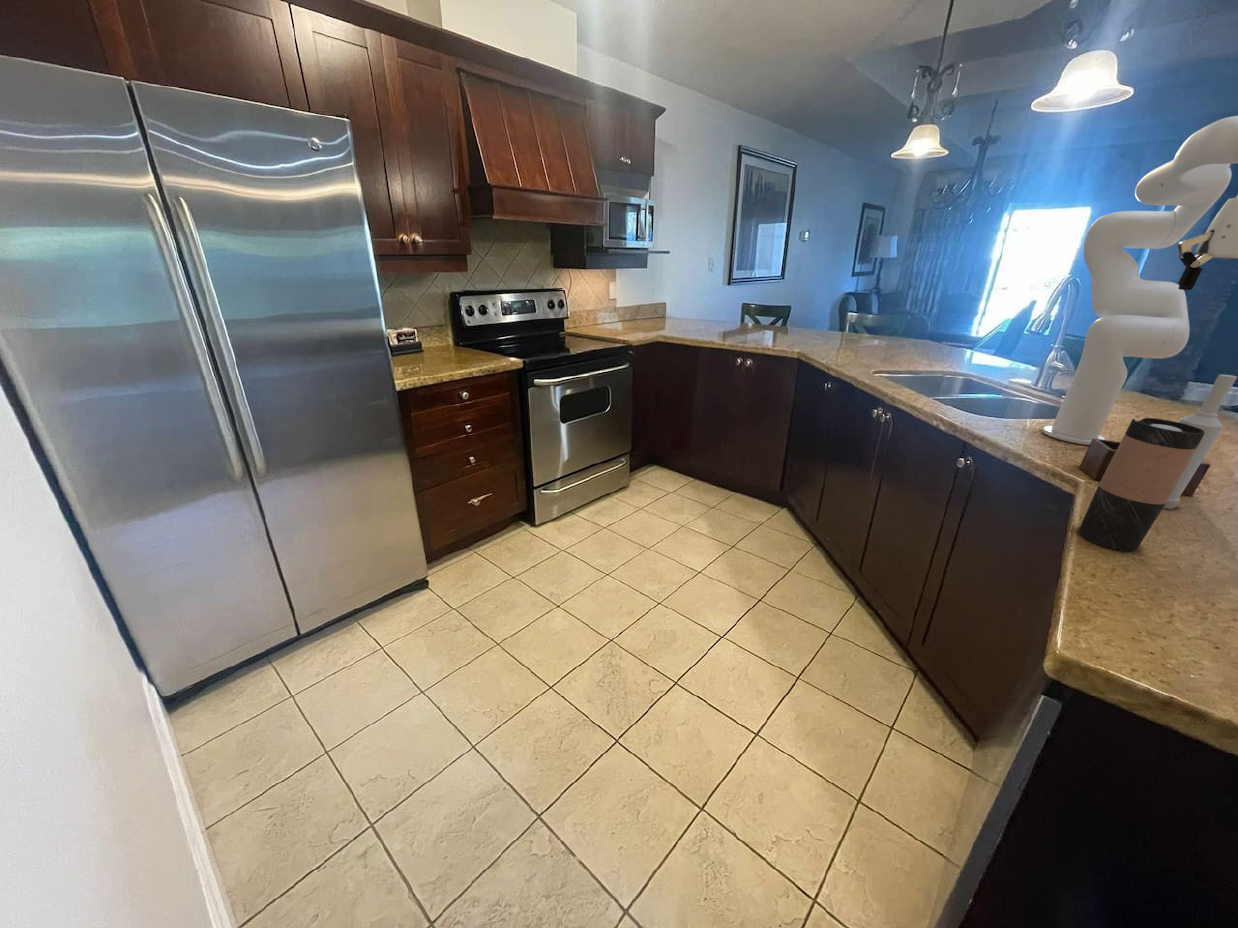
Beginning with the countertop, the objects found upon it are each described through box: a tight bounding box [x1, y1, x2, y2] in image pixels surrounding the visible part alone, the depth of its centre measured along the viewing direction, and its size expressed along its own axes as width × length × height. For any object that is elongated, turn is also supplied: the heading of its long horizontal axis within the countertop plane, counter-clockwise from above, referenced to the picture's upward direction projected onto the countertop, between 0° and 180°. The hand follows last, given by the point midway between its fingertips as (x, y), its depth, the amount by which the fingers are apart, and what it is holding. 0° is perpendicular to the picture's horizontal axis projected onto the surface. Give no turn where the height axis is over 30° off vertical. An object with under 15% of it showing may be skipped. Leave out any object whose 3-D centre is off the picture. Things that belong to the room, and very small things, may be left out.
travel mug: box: [1078, 417, 1205, 552], centre depth 74 cm, size 8×8×20 cm
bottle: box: [1163, 374, 1238, 510], centre depth 86 cm, size 5×5×25 cm
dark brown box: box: [1078, 438, 1211, 497], centre depth 100 cm, size 8×15×7 cm, turn 65°
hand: (1218, 291), depth 90 cm, fingers open, 9 cm apart
